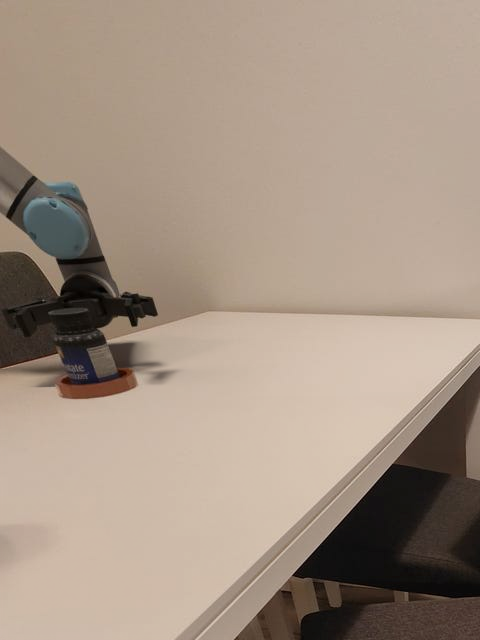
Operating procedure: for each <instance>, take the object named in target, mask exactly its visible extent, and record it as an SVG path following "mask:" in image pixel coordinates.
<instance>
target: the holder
mask: <svg viewBox="0 0 480 640" xmlns="http://www.w3.org/2000/svg"><path fill="white" fill-rule="evenodd" d="M116 368H117V371H118V373H119V376H120V378H118V379H115V380H111V381H107V382H102V383H95V384H86V385H72V384H71V381H70V379H69V377H68V374H65V375H62V376H60V377H59V378H56V379H55V381H54V386H55V388H56V390H57V393H58V394H59V396H60V397H62V398H64V399H71V400H84V399H85V400H86V399H87V400H88V399H96V398H104V397H109V396H113V395H118V394H122V393H125V392H128V391H130V390H133V389H134V388H135V387H137V386H139V383H138V380H137V377H136V374H135V372H134V370H133V369H130V368H126V367H116Z"/></svg>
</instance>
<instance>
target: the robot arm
mask: <svg viewBox="0 0 480 640" xmlns="http://www.w3.org/2000/svg"><path fill="white" fill-rule="evenodd" d="M0 214H1V215H2V216H4V217H5V218H6V219H7V220H9V221H10V222H11V223H12V224H13V225H15V226H16V227H17V228H18V229H20V230H21V231H22V232H24V234H26V235H27V236H28V237H29V239H30V240H31V241H32V242H33V244H34V245H36V246H37V248H38V249H40V250H41V251H42V252H44V253H45V254H47V255H49V256H50V257H53V258H55V261H56V264H57V266H58V270H59V271H60V273H61V275H62V278H63V281H64V282H63V284H62V285H61V287H60V290H59V295H58V296H53V297H51V299H50V301H48V302H47V300H46V299H44V298H41V297H38V298H36V299H33V300H32V301H28V302H25V303H21V304H16V305H13V306H9V307H3V308H1V309H0V311H1V313H2V315H3V317H4V320H5V321H6V324H7V326H8V328H9V329H10V330H17V329H21V332H22V334H23V336H24V338H31V337H33V335H34V334H35V332H36V331H37V330H38V327H39V326H43V325H48V324H52V322H51V319H50V317H49V314H48V313H49V312H50V311H54V310H60V309H68V308H86V309H88V310H89V312H90V315H91V317H92V320H91V323H92V326H93V327H94V328H97V329H102V328H105V327H107V326H109V324H111V323H112V322H113V319H116V318H119V317H123V318H124V317H125V318H128V320H129V324H130V326H131V328H135V327H138V323H139V319H144V318H147V317H146V316H149V317H153V318H155V317H158V316H159V314H158V310H157V307H156V304H155V301H154V298H153V296H146V295H141V294H139V292H136V293H131V291H130V292H129V291H124V292H122V293H120V291H119V287H118V285H117V283H116V281H115V280H114V279H113V277H112V273H111V271H110V269H109V268H110V267H109V266H108V262H107V259H106V258H105V254H104V253H103V250H102V248H101V244H100V241H99V239H98V236H97V232H96V230H95V227H94V224H93V222H92V220H91V216H90V213H89V211H88V205H87V204H86V202H85V200H84V198H83V196H82V193H81V190H80V188H79V187H78V186H77V184H75V183H74V182H73V181H51V182H43V181H42V180H41V179H39V178H38V177H37V176H35V175H34V173H32V172H31V171H30V170H29V169H27V168H26V166H24V165H23V164H22V163H20V161H18V160H17V159H16V158H15V157H13V155H11V154H10V153H8V151H7V150H5V149H4V148H3V147H2V146H0Z"/></svg>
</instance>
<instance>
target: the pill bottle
mask: <svg viewBox="0 0 480 640" xmlns="http://www.w3.org/2000/svg"><path fill="white" fill-rule="evenodd" d="M48 314H49V317H50V319H51V322H52V323H51V324H52V325H54V326H55V330H56V331H55V332H54V334H53V336H52V341H53V344H54V347H55V348H56V351H57V353H58V355H59V358H60V360H61V363H62V365H63V368H64V370H65V372H66V375H68V377H69V379H70V381H71V384H72V385H86V384H95V383H102V382H107V381H111V380H115V379H118V378H120V376H119V373H118V371H117V368H118V367H117V366H116V363H115V360H114V358H113V355H112V352H111V349H110V347H109V345H108V341H107V339H106V337H105V334H104V333H103V332H102V330H101V329H100V328H94V327H93V326H92V323H91V320H92V317H91V315H90V312H89V310H88V309H86V308H68V309H60V310H54V311H50V312H49V313H48Z"/></svg>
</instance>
